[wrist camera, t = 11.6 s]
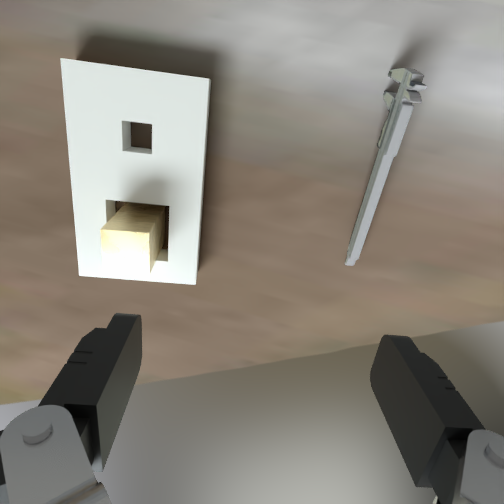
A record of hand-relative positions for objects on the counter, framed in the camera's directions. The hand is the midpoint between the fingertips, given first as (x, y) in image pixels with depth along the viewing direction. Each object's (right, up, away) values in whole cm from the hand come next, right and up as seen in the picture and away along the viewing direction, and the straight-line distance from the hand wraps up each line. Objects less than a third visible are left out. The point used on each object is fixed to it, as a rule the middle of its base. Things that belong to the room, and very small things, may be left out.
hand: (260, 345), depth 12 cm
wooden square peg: (-12, +6, +26) cm, 29 cm away
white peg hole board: (-11, +10, +24) cm, 28 cm away
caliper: (+12, +11, +26) cm, 30 cm away
